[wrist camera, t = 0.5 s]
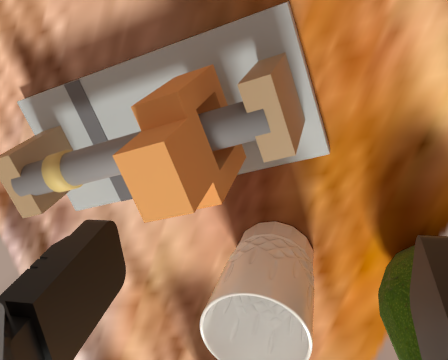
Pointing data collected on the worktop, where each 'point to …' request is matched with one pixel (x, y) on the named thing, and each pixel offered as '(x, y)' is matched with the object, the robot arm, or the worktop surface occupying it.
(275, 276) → the white cup
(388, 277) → the avocado
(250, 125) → the pipe stand
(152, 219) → the collar
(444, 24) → the worktop surface
